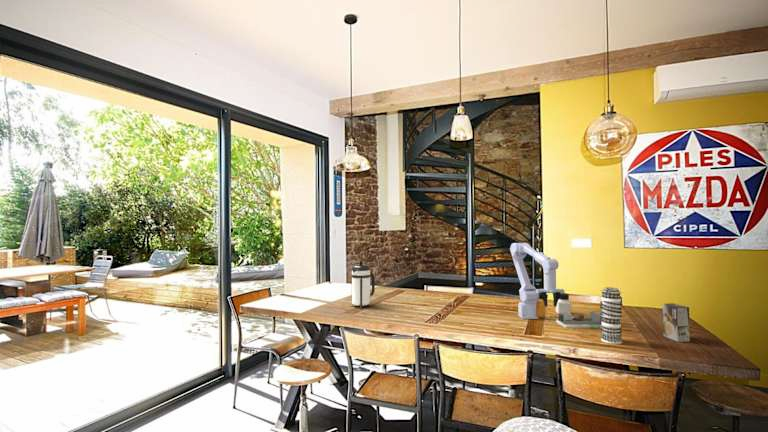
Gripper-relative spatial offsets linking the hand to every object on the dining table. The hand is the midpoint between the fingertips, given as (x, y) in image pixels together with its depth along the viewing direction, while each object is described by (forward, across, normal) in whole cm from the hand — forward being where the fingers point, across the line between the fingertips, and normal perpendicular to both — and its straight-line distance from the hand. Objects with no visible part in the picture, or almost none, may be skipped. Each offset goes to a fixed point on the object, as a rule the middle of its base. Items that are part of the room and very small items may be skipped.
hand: (550, 306), depth 210 cm
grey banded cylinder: (+10, +17, -28) cm, 34 cm away
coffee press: (+10, -106, +44) cm, 115 cm away
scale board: (+10, +16, 0) cm, 18 cm away
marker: (+8, +16, 0) cm, 18 cm away
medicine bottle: (+10, +18, +25) cm, 32 cm away
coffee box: (+10, +50, -24) cm, 56 cm away
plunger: (+8, +9, 0) cm, 13 cm away
